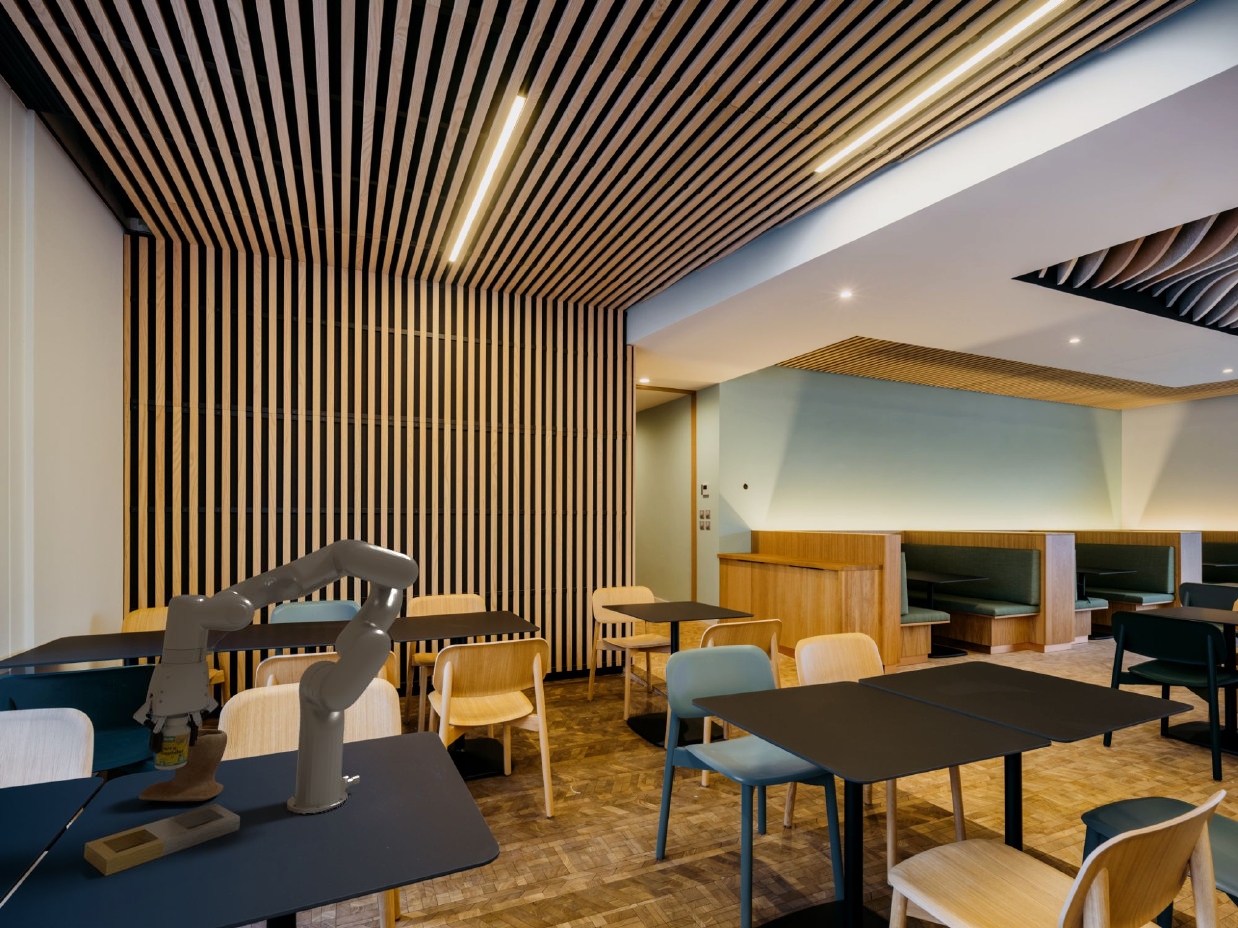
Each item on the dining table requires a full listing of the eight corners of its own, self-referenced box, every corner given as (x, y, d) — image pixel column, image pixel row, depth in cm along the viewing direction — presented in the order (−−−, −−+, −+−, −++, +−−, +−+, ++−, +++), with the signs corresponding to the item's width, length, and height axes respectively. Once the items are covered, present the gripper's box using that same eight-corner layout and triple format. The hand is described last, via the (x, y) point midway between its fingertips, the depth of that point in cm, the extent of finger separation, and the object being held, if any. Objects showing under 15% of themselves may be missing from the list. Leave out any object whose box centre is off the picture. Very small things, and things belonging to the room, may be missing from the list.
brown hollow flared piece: (235, 787, 159) (239, 723, 160) (204, 808, 147) (209, 738, 148) (172, 786, 159) (177, 722, 160) (136, 807, 147) (142, 737, 148)
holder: (214, 815, 143) (215, 803, 143) (239, 829, 137) (240, 816, 137) (84, 857, 124) (85, 842, 125) (105, 875, 118) (107, 860, 118)
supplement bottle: (186, 760, 136) (193, 712, 137) (186, 768, 131) (193, 718, 133) (154, 763, 133) (161, 714, 134) (153, 771, 129) (160, 720, 130)
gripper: (220, 649, 144) (210, 735, 142) (127, 658, 130) (115, 754, 128) (236, 654, 140) (226, 743, 137) (142, 663, 126) (129, 762, 124)
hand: (172, 747), depth 133 cm, fingers closed on supplement bottle, 5 cm apart
